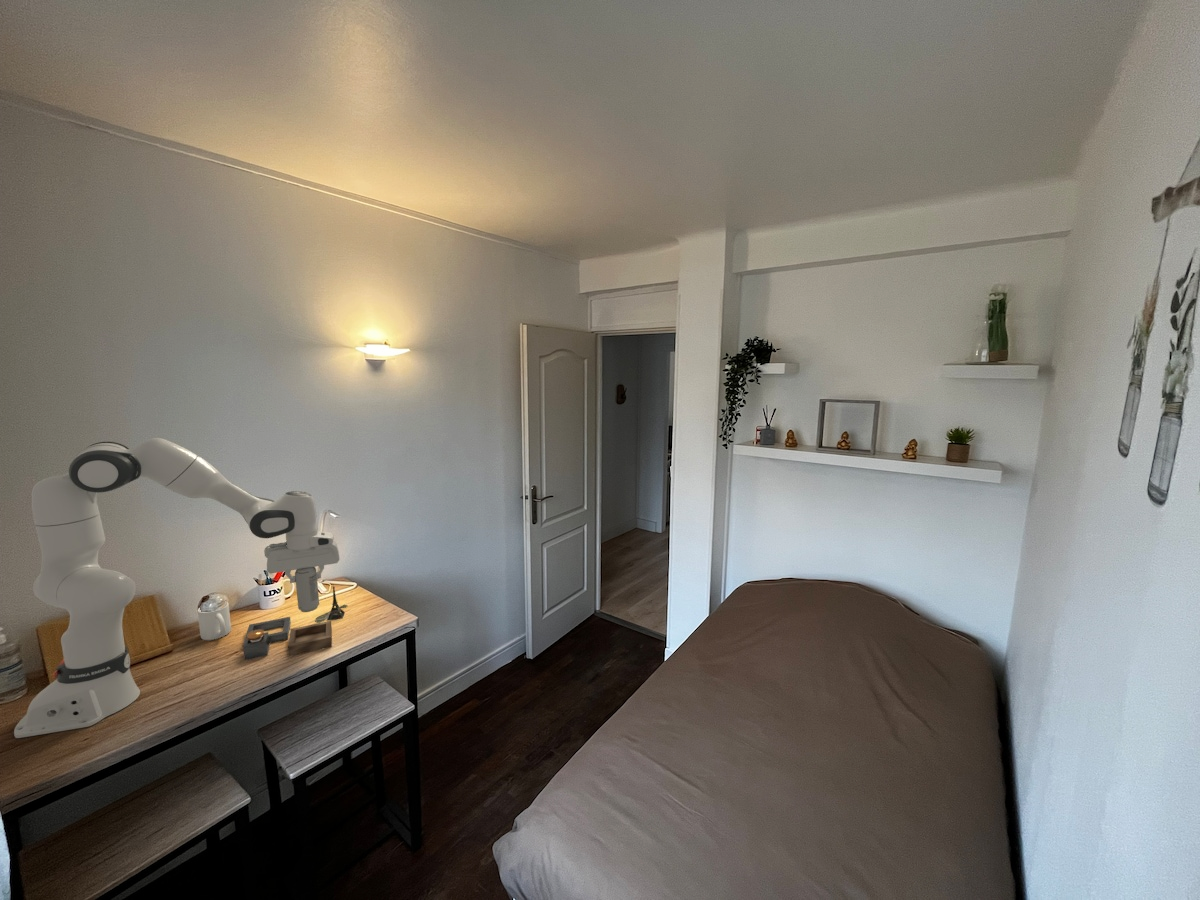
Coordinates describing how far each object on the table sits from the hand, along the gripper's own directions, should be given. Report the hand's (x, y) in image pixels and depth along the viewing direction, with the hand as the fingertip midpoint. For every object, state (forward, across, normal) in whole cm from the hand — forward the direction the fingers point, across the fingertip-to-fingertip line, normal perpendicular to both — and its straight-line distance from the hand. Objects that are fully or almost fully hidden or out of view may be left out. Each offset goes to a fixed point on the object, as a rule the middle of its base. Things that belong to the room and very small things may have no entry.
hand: (305, 580), depth 156 cm
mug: (+23, -28, +19) cm, 41 cm away
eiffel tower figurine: (+23, +7, +17) cm, 29 cm away
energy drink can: (+10, 0, 0) cm, 11 cm away
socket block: (+22, -13, +8) cm, 27 cm away
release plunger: (+21, -15, +1) cm, 26 cm away
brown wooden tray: (+22, 0, 0) cm, 22 cm away
